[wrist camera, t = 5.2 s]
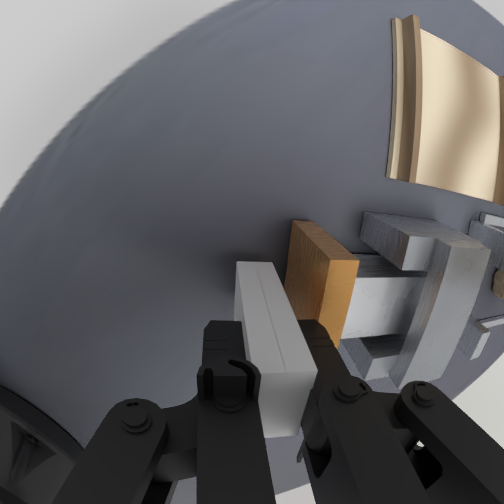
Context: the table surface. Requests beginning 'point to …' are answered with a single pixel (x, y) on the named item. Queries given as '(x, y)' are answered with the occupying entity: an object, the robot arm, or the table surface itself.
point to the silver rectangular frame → (500, 257)
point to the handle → (499, 284)
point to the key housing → (422, 297)
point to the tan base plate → (445, 116)
